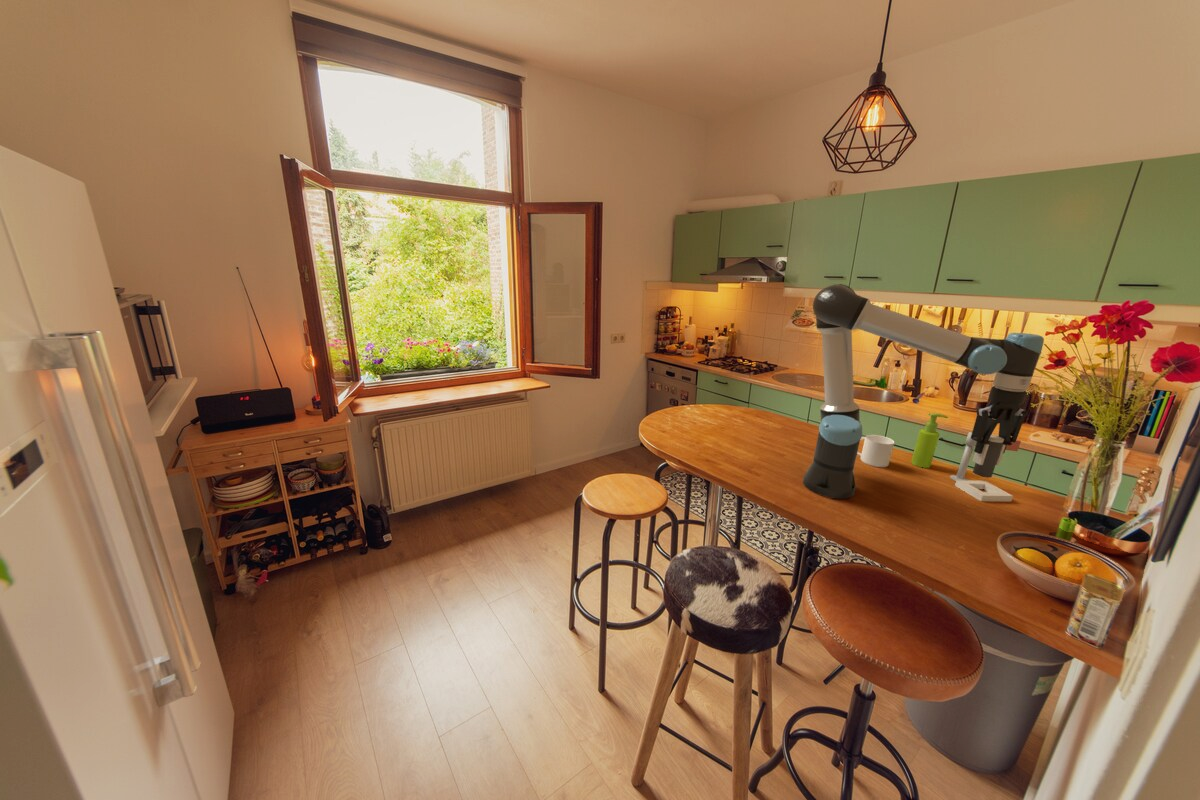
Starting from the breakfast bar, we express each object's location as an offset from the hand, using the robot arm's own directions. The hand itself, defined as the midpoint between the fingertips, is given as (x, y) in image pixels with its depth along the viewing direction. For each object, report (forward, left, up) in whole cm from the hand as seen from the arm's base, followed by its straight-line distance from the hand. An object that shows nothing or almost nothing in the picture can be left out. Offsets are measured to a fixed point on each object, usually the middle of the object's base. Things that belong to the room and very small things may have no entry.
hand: (985, 462), depth 129 cm
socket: (+10, +10, -14) cm, 20 cm away
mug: (-12, +31, -15) cm, 36 cm away
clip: (+15, +14, -1) cm, 21 cm away
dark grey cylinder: (0, 0, -4) cm, 4 cm away
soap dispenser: (+6, +28, -14) cm, 32 cm away
